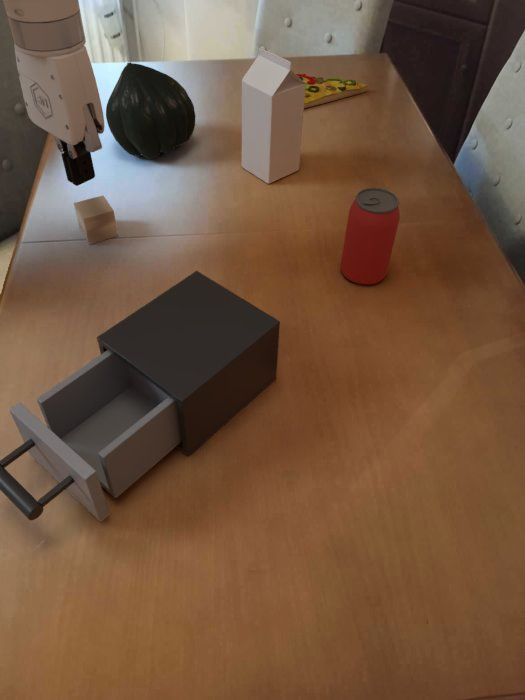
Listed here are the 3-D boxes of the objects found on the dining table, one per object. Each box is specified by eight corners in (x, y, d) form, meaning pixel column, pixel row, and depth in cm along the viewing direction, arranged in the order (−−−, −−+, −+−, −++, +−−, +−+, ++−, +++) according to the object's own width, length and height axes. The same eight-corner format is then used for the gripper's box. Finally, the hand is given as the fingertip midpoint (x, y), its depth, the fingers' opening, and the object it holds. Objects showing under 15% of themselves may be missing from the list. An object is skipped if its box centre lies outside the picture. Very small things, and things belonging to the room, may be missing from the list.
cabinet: (188, 457, 63) (182, 401, 56) (111, 395, 69) (96, 337, 62) (276, 379, 71) (280, 321, 64) (200, 328, 76) (196, 270, 69)
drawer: (57, 560, 54) (36, 520, 49) (-13, 486, 59) (-40, 442, 54) (200, 435, 64) (196, 389, 59) (129, 380, 69) (120, 333, 63)
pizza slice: (264, 81, 128) (264, 66, 126) (357, 76, 131) (359, 62, 128) (278, 114, 117) (279, 99, 115) (379, 108, 120) (381, 93, 118)
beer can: (331, 263, 86) (342, 190, 77) (371, 253, 88) (385, 181, 79) (354, 291, 82) (367, 218, 73) (395, 280, 84) (413, 207, 75)
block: (89, 244, 88) (83, 218, 84) (79, 228, 90) (73, 202, 87) (118, 236, 89) (113, 210, 86) (108, 220, 92) (103, 195, 89)
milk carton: (268, 185, 100) (273, 68, 86) (241, 167, 103) (241, 53, 90) (299, 171, 103) (308, 56, 89) (271, 154, 107) (276, 42, 93)
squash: (217, 130, 101) (181, 41, 98) (137, 157, 95) (96, 63, 92) (191, 154, 114) (158, 76, 111) (119, 179, 108) (83, 97, 105)
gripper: (-21, 20, 66) (24, 169, 80) (58, 58, 59) (93, 214, 73) (38, 4, 70) (72, 149, 83) (118, 38, 63) (141, 190, 77)
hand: (81, 179), depth 78 cm, fingers closed
